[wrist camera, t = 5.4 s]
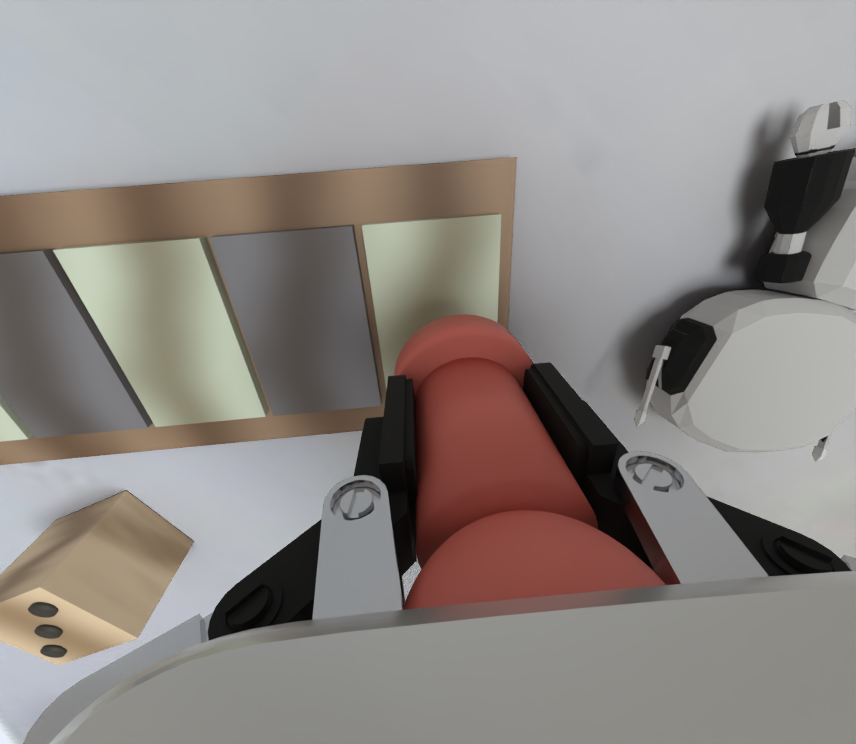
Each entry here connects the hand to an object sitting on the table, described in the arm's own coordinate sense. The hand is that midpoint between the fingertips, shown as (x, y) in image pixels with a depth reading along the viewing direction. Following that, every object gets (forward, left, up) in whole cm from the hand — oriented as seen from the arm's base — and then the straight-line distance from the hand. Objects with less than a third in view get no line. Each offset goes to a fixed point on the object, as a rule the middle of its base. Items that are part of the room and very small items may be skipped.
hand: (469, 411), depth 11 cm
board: (+13, -1, -8) cm, 15 cm away
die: (+23, +13, -8) cm, 28 cm away
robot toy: (-17, 0, -8) cm, 19 cm away
